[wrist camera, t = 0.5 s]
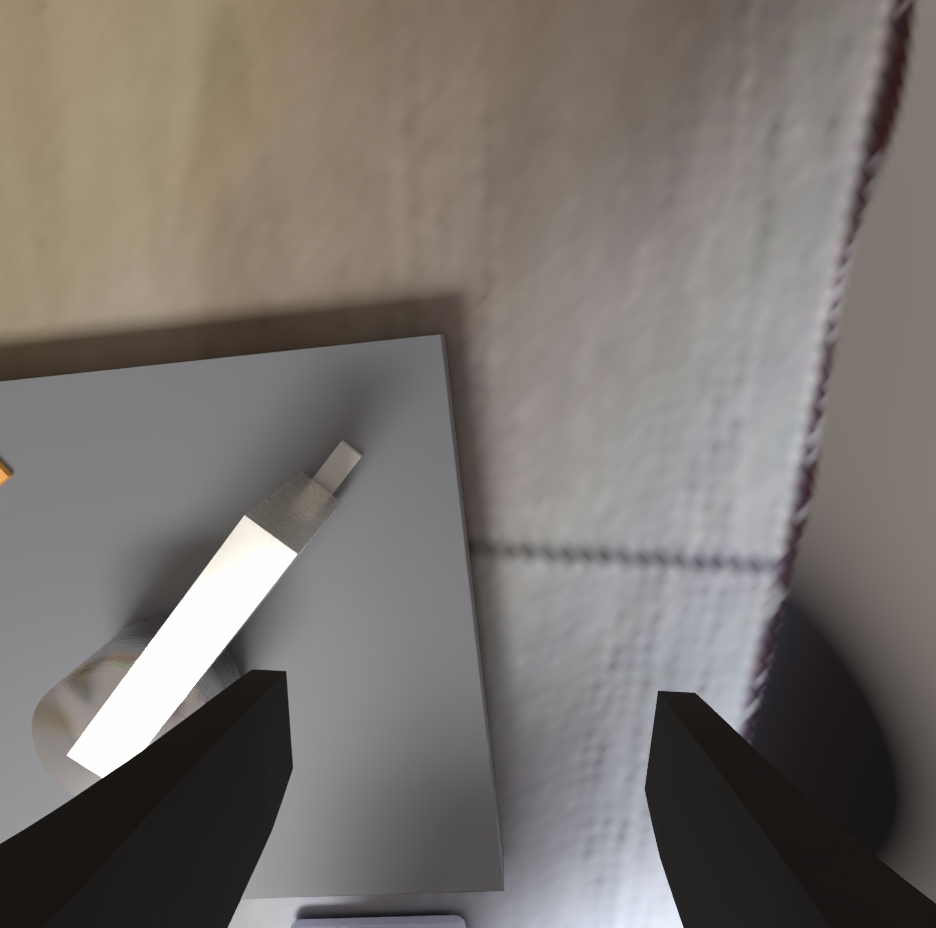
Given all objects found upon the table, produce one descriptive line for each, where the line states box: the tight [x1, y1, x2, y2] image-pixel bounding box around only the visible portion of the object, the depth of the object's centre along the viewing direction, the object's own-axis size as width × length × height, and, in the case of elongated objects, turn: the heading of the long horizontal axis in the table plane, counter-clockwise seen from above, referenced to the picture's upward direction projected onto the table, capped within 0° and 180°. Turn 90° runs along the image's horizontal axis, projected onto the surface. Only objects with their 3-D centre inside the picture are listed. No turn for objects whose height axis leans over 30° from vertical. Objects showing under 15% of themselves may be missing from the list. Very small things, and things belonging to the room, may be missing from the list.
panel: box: [0, 333, 504, 899], centre depth 20 cm, size 22×22×2 cm
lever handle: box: [32, 471, 341, 796], centre depth 17 cm, size 12×5×4 cm, turn 141°
